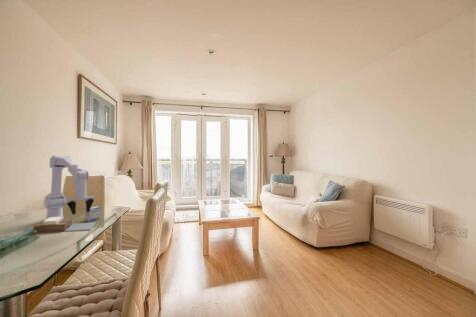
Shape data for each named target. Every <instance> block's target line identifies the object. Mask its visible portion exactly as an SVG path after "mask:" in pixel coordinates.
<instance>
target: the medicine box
mask: <svg viewBox="0 0 476 317" xmlns="http://www.w3.org/2000/svg"><path fill="white" fill-rule="evenodd" d="M100 215H101V206H97V205H96V206H91V208H90V212H87V211H86V208H85V212H84V221H85V222H92V221H93V222H94V221H96V220H99V219H100V217H101V216H100Z"/></svg>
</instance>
